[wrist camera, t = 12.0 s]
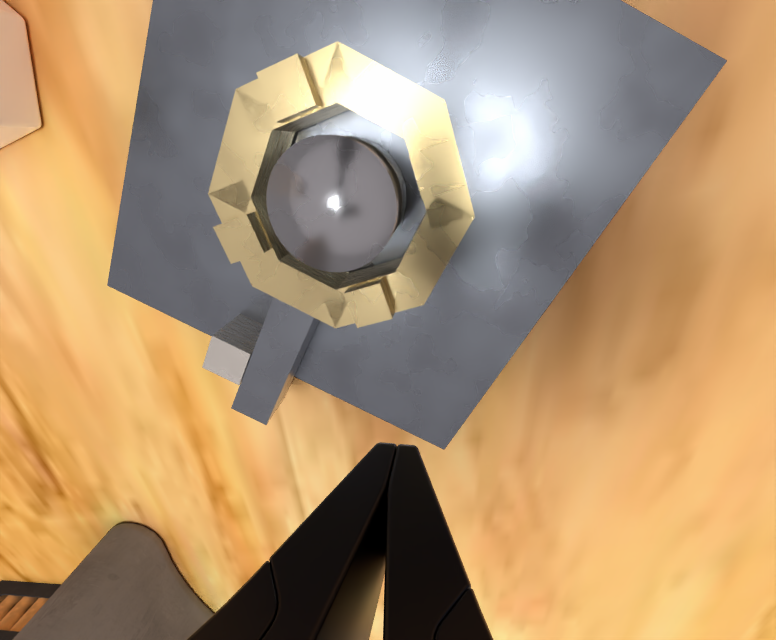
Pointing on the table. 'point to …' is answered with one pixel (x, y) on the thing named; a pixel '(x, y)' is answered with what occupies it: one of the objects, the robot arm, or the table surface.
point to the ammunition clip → (21, 604)
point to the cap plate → (401, 177)
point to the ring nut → (265, 251)
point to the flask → (121, 595)
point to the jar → (16, 79)
